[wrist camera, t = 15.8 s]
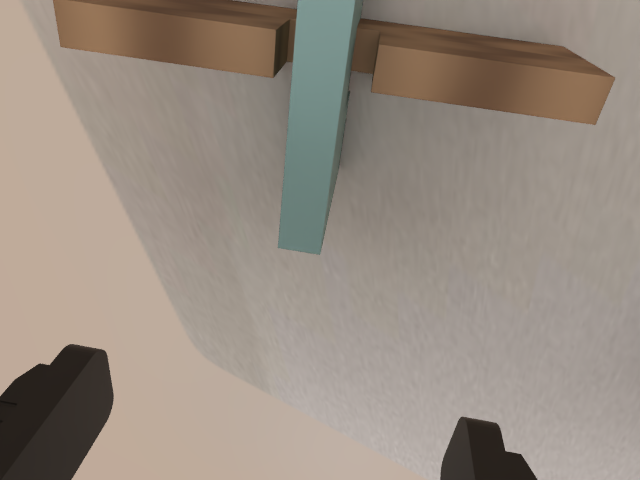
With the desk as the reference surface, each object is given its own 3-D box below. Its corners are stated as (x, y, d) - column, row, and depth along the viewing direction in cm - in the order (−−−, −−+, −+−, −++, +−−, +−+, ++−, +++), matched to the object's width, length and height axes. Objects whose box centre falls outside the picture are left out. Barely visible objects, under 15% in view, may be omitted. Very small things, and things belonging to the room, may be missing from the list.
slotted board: (563, 46, 26) (615, 77, 20) (549, 84, 27) (595, 124, 21) (126, -15, 27) (52, -2, 21) (129, 24, 28) (60, 47, 22)
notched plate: (376, -95, 24) (370, -114, 15) (338, 169, 31) (320, 254, 23) (336, -100, 24) (307, -122, 15) (307, 164, 31) (277, 247, 23)
